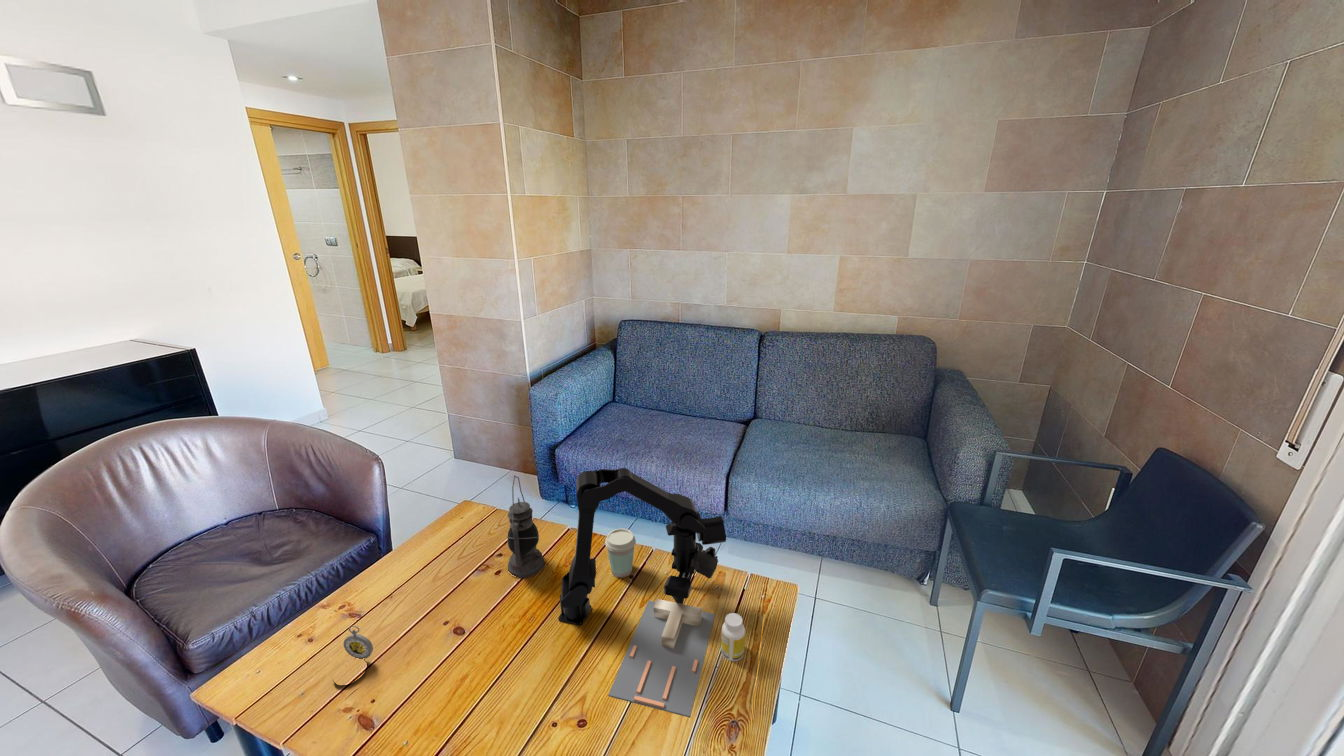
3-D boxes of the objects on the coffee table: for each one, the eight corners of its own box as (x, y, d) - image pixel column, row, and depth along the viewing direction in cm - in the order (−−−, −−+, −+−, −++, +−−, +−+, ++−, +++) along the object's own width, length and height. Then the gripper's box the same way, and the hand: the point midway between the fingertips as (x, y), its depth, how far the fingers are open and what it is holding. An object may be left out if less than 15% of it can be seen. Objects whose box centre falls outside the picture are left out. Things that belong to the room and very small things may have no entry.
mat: (608, 696, 106) (608, 693, 105) (648, 601, 131) (648, 598, 131) (690, 717, 101) (690, 714, 101) (715, 615, 127) (715, 612, 126)
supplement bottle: (746, 646, 118) (747, 613, 114) (741, 665, 113) (743, 631, 110) (723, 640, 119) (725, 608, 116) (718, 658, 114) (719, 625, 111)
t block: (643, 641, 118) (643, 632, 117) (657, 608, 128) (656, 598, 127) (692, 652, 115) (692, 643, 114) (702, 617, 125) (702, 608, 124)
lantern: (538, 580, 139) (528, 487, 129) (501, 580, 139) (487, 487, 129) (549, 551, 150) (540, 464, 141) (514, 551, 151) (503, 464, 141)
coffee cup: (642, 568, 143) (641, 533, 140) (624, 586, 137) (622, 550, 133) (619, 557, 148) (617, 523, 144) (600, 574, 141) (598, 539, 137)
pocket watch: (331, 692, 107) (321, 657, 103) (336, 662, 114) (326, 628, 110) (375, 676, 110) (366, 642, 107) (377, 648, 117) (368, 615, 114)
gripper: (708, 575, 116) (707, 627, 121) (721, 528, 133) (720, 575, 138) (663, 566, 119) (663, 617, 124) (681, 521, 136) (681, 568, 141)
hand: (684, 593), depth 132 cm, fingers open, 9 cm apart
